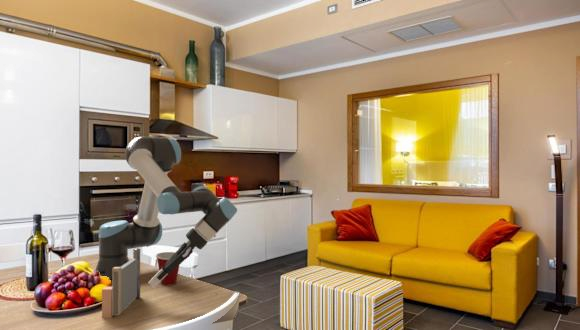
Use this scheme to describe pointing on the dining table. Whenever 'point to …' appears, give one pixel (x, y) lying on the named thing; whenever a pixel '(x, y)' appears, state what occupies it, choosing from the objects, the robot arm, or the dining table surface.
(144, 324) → the dining table surface
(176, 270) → the plastic cup
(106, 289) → the post
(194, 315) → the dining table surface
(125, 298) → the panel
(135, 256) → the gate post
